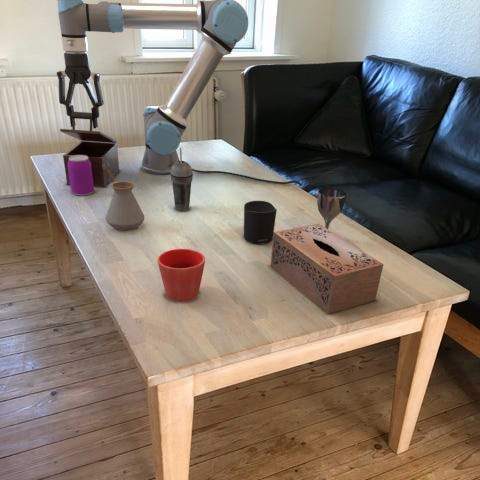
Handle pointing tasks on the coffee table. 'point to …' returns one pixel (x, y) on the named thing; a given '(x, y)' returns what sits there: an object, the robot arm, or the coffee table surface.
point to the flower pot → (181, 273)
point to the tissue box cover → (325, 267)
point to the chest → (96, 160)
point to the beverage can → (80, 175)
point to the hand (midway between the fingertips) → (84, 126)
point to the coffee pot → (123, 206)
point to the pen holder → (259, 222)
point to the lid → (86, 135)
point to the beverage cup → (181, 184)
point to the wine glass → (330, 203)
